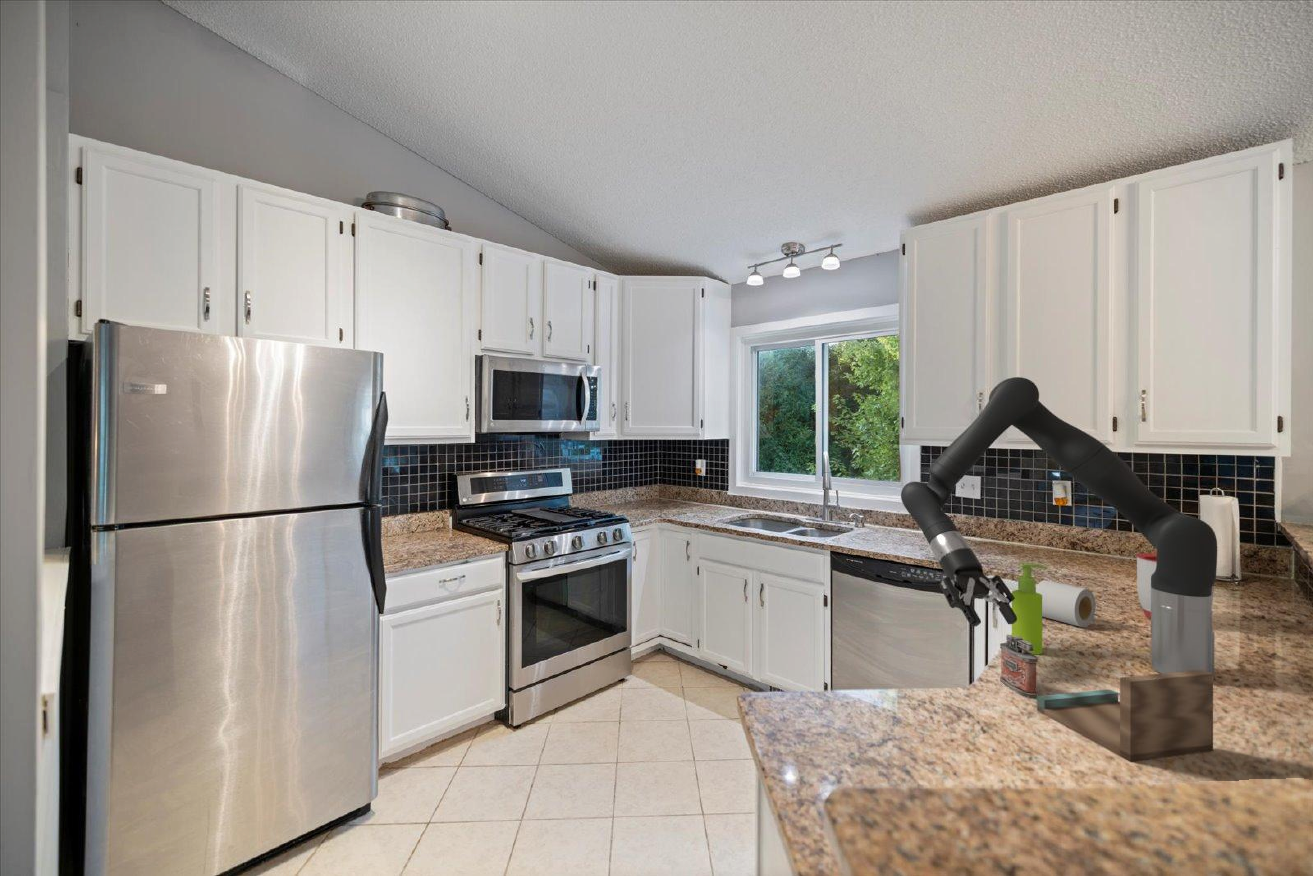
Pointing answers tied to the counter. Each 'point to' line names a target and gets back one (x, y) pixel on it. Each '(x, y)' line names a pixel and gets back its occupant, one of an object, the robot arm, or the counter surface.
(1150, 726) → the wall holder
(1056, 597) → the toilet paper
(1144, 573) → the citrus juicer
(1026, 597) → the soap dispenser
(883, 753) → the counter surface
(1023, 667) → the lighter
